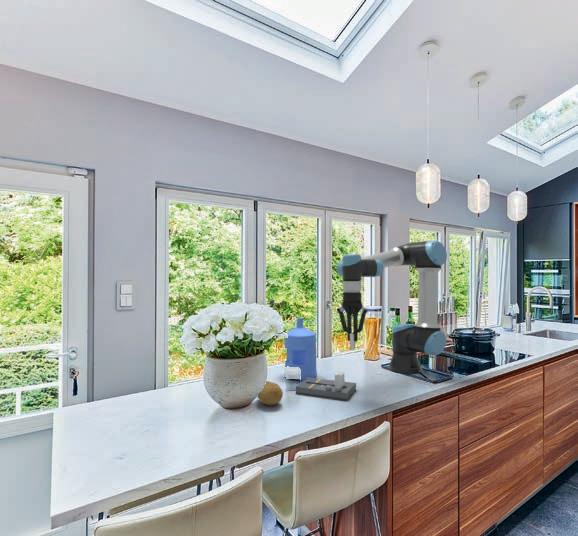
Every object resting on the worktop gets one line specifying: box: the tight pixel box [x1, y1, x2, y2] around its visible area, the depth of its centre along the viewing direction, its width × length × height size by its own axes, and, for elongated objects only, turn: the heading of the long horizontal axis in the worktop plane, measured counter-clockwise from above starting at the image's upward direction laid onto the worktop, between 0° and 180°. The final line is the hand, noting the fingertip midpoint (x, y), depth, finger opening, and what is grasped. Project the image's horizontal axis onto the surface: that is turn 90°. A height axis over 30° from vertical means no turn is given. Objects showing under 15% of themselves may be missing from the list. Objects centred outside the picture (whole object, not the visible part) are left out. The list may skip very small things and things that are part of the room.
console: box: [295, 377, 357, 402], centre depth 153 cm, size 22×14×4 cm, turn 65°
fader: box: [334, 371, 346, 388], centre depth 150 cm, size 3×4×7 cm
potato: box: [256, 380, 284, 406], centre depth 140 cm, size 10×14×8 cm
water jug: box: [283, 317, 318, 381], centre depth 176 cm, size 16×16×28 cm
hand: (352, 349), depth 148 cm, fingers closed
